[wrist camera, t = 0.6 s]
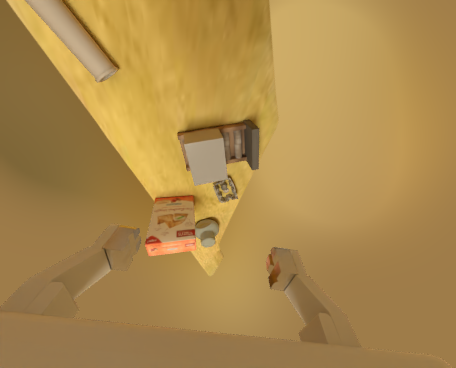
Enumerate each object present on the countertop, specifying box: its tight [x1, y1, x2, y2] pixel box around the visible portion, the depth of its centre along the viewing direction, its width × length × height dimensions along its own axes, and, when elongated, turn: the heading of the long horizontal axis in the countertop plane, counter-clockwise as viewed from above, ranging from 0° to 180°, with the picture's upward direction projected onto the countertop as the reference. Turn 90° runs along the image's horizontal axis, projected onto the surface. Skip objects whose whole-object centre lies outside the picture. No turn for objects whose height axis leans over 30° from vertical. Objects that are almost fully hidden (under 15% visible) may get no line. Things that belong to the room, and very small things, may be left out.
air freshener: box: [195, 219, 219, 247], centre depth 73 cm, size 11×8×10 cm
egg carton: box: [213, 177, 238, 203], centre depth 66 cm, size 11×8×4 cm
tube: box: [25, 0, 118, 83], centre depth 32 cm, size 5×5×25 cm
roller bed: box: [178, 120, 259, 171], centre depth 53 cm, size 22×13×9 cm, turn 95°
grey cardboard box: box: [184, 128, 228, 186], centre depth 50 cm, size 10×13×8 cm
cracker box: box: [145, 196, 196, 256], centre depth 58 cm, size 14×6×21 cm, turn 86°
